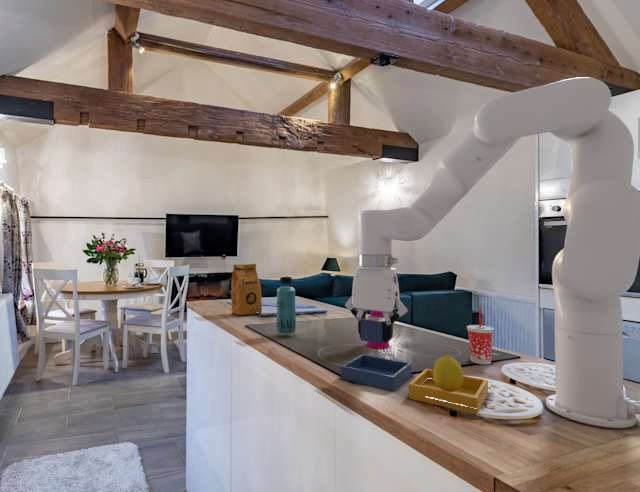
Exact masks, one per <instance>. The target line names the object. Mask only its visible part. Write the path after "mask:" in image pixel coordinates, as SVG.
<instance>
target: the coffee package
mask: <svg viewBox="0 0 640 492" xmlns="http://www.w3.org/2000/svg"><path fill="white" fill-rule="evenodd" d="M256 268H257V263H247V264H237V263H235V264H233V267H232V275H231V282H230V283H231V285H230V286H231V287H230V288H231V296H230V297H231V298H230V299H231V314H233V315H237V316H253V315H254V316H255V315H261V314H262V311H263V305H262V304H263V303H262V299H263V298H262V288H261V286H262V285H261V282H260V278H259V275H258V273H257V272H258V271H257V269H256ZM256 312H259V313H256Z"/></svg>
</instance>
